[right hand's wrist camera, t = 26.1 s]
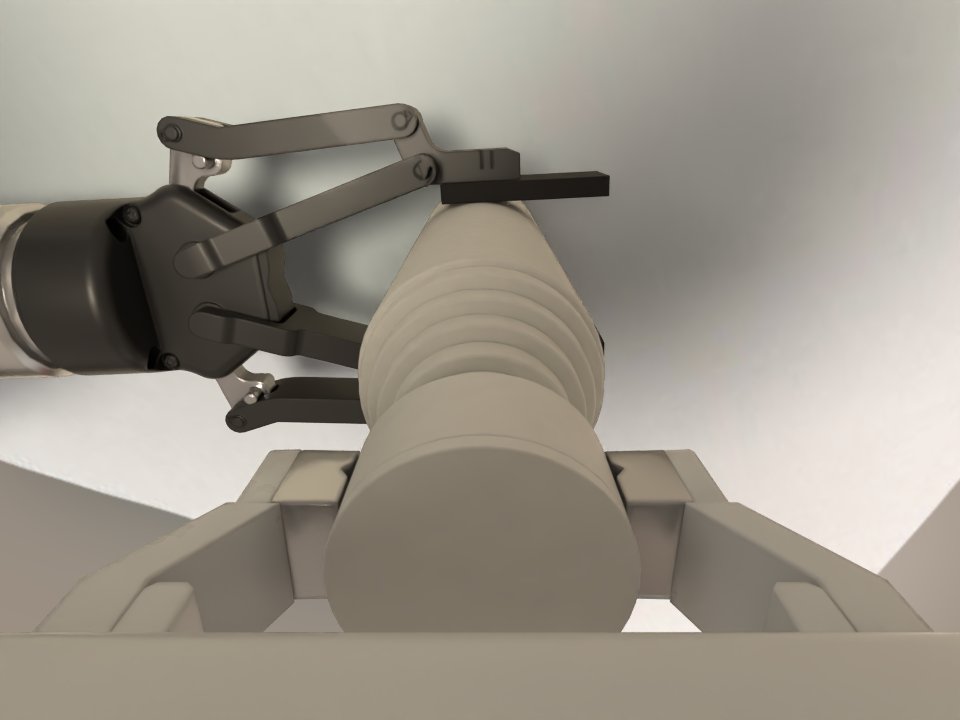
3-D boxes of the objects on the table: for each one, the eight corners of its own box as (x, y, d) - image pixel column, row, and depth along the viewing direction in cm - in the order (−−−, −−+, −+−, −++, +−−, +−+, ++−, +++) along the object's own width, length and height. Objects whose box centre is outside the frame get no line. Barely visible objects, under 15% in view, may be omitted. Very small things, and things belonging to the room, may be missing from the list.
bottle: (558, 221, 31) (777, 484, 8) (500, 315, 33) (546, 740, 10) (459, 161, 30) (388, 272, 7) (405, 263, 31) (214, 607, 9)
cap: (658, 488, 10) (706, 589, 8) (479, 619, 11) (478, 737, 9) (485, 318, 9) (486, 379, 7) (306, 482, 10) (257, 580, 8)
